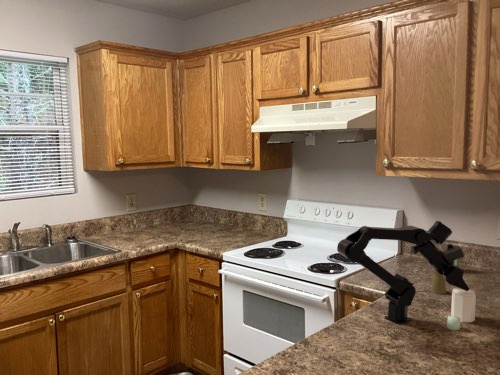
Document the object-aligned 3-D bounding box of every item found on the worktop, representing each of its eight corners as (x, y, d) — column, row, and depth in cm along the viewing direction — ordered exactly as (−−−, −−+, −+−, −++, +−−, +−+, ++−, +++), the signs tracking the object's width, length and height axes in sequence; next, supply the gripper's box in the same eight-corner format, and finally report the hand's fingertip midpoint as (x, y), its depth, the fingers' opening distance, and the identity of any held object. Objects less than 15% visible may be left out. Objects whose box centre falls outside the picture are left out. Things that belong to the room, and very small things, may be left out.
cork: (433, 288, 190) (434, 263, 189) (448, 291, 186) (449, 265, 185) (428, 292, 185) (429, 266, 184) (443, 295, 181) (444, 269, 180)
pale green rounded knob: (455, 331, 147) (456, 321, 147) (444, 327, 150) (445, 317, 150) (462, 328, 149) (463, 318, 149) (451, 324, 152) (452, 314, 152)
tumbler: (476, 322, 154) (478, 294, 153) (455, 321, 155) (456, 293, 154) (469, 315, 161) (470, 288, 160) (449, 314, 161) (450, 287, 160)
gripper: (458, 244, 146) (492, 278, 146) (441, 233, 165) (471, 263, 164) (432, 267, 148) (466, 300, 148) (418, 253, 166) (448, 283, 166)
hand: (463, 285), depth 156 cm, fingers open, 9 cm apart
